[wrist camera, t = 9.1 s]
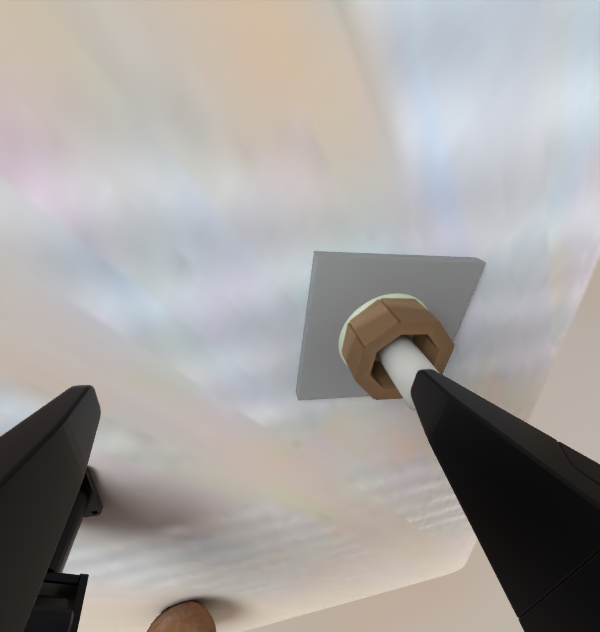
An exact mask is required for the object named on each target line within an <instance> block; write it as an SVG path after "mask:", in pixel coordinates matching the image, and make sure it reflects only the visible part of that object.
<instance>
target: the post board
mask: <svg viewBox="0 0 600 632" xmlns="http://www.w3.org/2000/svg"><path fill="white" fill-rule="evenodd" d="M485 264H486V263H485V262H483V261H481V260H480V259H478V258H467V257H443V256H418V255H393V254H368V253H343V252H318V251H314V257H313V265H312V273H311V280H310V288H309V296H308V303H307V311H306V319H305V326H304V334H303V342H302V349H301V357H300V365H299V372H298V380H297V388H296V394H297V398H298V400H312V399H328V398H343V397H359V396H370V395H369V394H368V393H367V392H366V391H365V390H364V389H363V388H362V387H361V386H360V385H359V384H358V383H357V382H356V381H355V379H354V377H353V375H352V373H351V371H350V369H349V367H348V365H347V363H346V361H345V359H344V357H343V355H342V352H341V351H342V346H343V342H344V337H345V333H346V328H347V324H348V323H350V322H349V321H350V320H351V319H352V318H354V317H355V316H356V315H358V314H359V313H360V312H362V311H363V310H364V309H366V308H367V307H368V306H370V305H371V304H372V303H374V302H375V301H376V300H377V299H379V300H380V299H381V298H414V299H416V300H417V301H418V302H419V303H420V304H421V305H422V306H423V307H424V308H426V309H427V310H428V311H429V312H430V313H431V314H432V315H433V316H434V317H435V318H436V319H437V320H439V321H440V323H441V324H442V326H443V327H444V329H445V331H446V332H447V334H448V335H449V337H450V338H451V340H452V341H453V340H454V337H455V335H456V333H457V330H458V328H459V326H460V323H461V321H462V318H463V316H464V314H465V311H466V309H467V307H468V304H469V302H470V300H471V297H472V295H473V292H474V290H475V288H476V285H477V283H478V281H479V278H480V276H481V274H482V271H483V269H484V267H485ZM413 336H414V335H400V336H399V337H397V338H396V339H395V340H393V341H392V342H390V343H389V344H388V345H386V346H385V347H383V348H382V349H381V350H379V351H378V352H377V353H376V356H375V360H374V361H380V362H381V364H382V365H383V367H384V369H385V370H386V372H387V373H388V375H389V376H390V378H391V380H392V381H393V383H394V384H395V386H396V387H397V389H398V391H399V392H400V394H401V395H402V397H403V398H404V400H405V401H406V403H407V405H408V406H409V407H410V408H411V409H413V410H416V408H415V406H414V403H413V400H412V398H411V393H410V391H411V387H412V384H413V381H414V379H415V376H416V373H417V372H418V371H419V370H421V369H433V370H435V371H436V372H438V371H437V369H436V368H435V367H434V366H433V365H432V364H431V362H430V361H429V360H428V359H427V358H426V357H425V355H424V354H423V353H422V352H421V351H420V350H419V348H418V347H417V346H416V345H415V344H414V342H413V341H412V339H413ZM438 373H439V372H438Z"/></svg>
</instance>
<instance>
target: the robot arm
mask: <svg viewBox="0 0 600 632" xmlns="http://www.w3.org/2000/svg"><path fill="white" fill-rule="evenodd" d="M410 393H411V398H412V400H413V403H414V406H415V408H416V411H417V413H418V416H419V418H420V421H421V424H422V426H423V429H424V431H425V434H426V436H427V439H428V441H429V443H430V445H431V447H432V450H433V451H434V453H435V455H436V457H437V459H438V461H439V463H440V465H441V467H442V469H443V471H444V473H445V475H446V477H447V479H448V481H449V483H450V485H451V487H452V489H453V491H454V493H455V495H456V497H457V499H458V501H459V503H460V505H461V507H462V509H463V511H464V513H465V515H466V517H467V519H468V521H469V523H470V525H471V527H472V529H473V531H474V532H475V534H476V536H477V538H478V540H479V542H480V544H481V546H482V548H483V550H484V552H485V554H486V556H487V558H488V560H489V562H490V564H491V566H492V568H493V570H494V572H495V574H496V575H497V578H498V580H499V582H500V584H501V586H502V588H503V590H504V592H505V594H506V596H507V598H508V600H509V601H510V604H511V605H512V608H513V609H514V611H515V613H516V615H517V617H518V618H519V621H520V624H521V626H522V628H523V630H524V632H600V464H598V463H597V462H595V461H593V460H591V459H589V458H587V457H586V456H584V455H582V454H580V453H578V452H577V451H575V450H573V449H571V448H570V447H568V446H566V445H564V444H563V443H561V442H557V440H555V439H554V438H552V437H550V436H549V435H547V434H545V433H543V432H542V431H540V430H538V429H536V428H534V427H533V426H531V425H529V424H528V423H526V422H524V421H522V420H521V419H519V418H517V417H515V416H514V415H512V414H510V413H508V412H507V411H505V410H503V409H501V408H500V407H498V406H496V405H494V404H493V403H491V402H489V401H487V400H486V399H484V398H482V397H480V396H479V395H477V394H475V393H473V392H472V391H470V390H468V389H466V388H465V387H463V386H461V385H459V384H458V383H456V382H454V381H452V380H451V379H449V378H447V377H445V376H443V375H442V374H440V373H438V372H436V371H435V370H433V369H421V370H419V371H418V372H417V373H416V376H415V379H414V381H413V384H412V387H411V391H410ZM100 415H101V410H100V405H99V402H98V399H97V396H96V392H95V389H94V387H93V386H91V385H78V386H72V387H71V388H69V389H67V390H66V391H65V392H63V393H62V394H60V395H59V396H58V397H56V398H55V399H53V400H52V401H50V402H49V403H48V404H46V405H45V406H43V407H42V408H40V409H39V410H38V411H36V412H35V413H33V414H32V415H31V416H29V417H28V418H26V419H25V420H23V421H22V422H21V423H19V424H18V425H16V426H15V427H13V428H12V429H11V430H9V431H8V432H6V433H5V434H3V435H2V436H1V437H0V632H77V629H78V624H79V620H80V615H81V610H82V605H83V600H84V595H85V591H86V586H87V581H88V576H89V575H88V574H80V575H75V574H65V573H62V572H63V569H64V566H65V564H66V561H67V559H68V556H69V553H70V551H71V548H72V546H73V543H74V540H75V538H76V535H77V532H78V530H79V527H80V525H81V522H82V519H83V517H89V516H96V515H99V514H101V512H102V509H103V507H102V504H101V502H100V499H99V496H98V494H97V491H96V488H95V486H94V483H93V481H92V478H91V475H90V473H89V470H88V469H87V464H88V461H89V457H90V453H91V450H92V446H93V442H94V438H95V435H96V431H97V427H98V424H99V420H100Z"/></svg>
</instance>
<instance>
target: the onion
mask: <svg viewBox="0 0 600 632" xmlns="http://www.w3.org/2000/svg"><path fill="white" fill-rule="evenodd" d="M169 608H170V609H169ZM151 624H152V625H151ZM151 624H150V625H151V626H150V627H149V629H148V630H147V631H148V632H216V628H215V624H214V621H213V618H212V616H211V615H210V613H209V612H208V610H207V609H206V608H205V607H204V606H202V605H201V604H199V603H197V602H193V601H188V602H185V603H181V604H179V605H176V606H173V607H168V608H167V609H166V610H164V611H163V612H161V614H160V615H159V616H158V617H156V619H155V620H154V622H153V623H151Z"/></svg>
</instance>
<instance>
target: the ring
mask: <svg viewBox="0 0 600 632" xmlns="http://www.w3.org/2000/svg"><path fill="white" fill-rule="evenodd" d="M349 322H350V323H348V324H347V328H346V333H345V337H344V342H343V346H342V351H341V352H342V355H343V357H344V359H345V361H346V363H347V365H348V367H349V369H350V371H351V373H352V375H353V377H354V379H355V381H356V382H357V383H358V384H359V385H360V386H361V387H362V388H363V389H364V390H365V391H366V392H367V393H368V394H369V395H370V396H371V397H372V398H373V399H376V400H381V399H398V398H403V397H402V395H401V394H400V392H399V391H398V389H397V387H396V386H395V384H394V383H393V381H392V380H391V378H390V376H389V375H388V373H387V372H386V370H385V369H384V367H383V365H382V364H381V362H380V361H374V360H375V356H376V353H377V352H378V351H379V350H381V349H382V348H383V347H385V346H386V345H388V344H389V343H390V342H392V341H393V340H395V339H396V338H397V337H399V336H400V335H414V336H413V339H412V341H413V342H414V344H415V345H416V346H417V347H418V348H419V350H420V351H421V352H422V353H423V354H424V355H425V357H426V358H427V359H428V360H429V361H430V362H431V364H432V365H433V366H434V367H435V368H436V369H437V371H438V372H439V373H440V374H443V371H444V369H445V367H446V365H447V362H448V360H449V358H450V356H451V353H452V351H453V349H454V346H453V345H454V343H453V341H452V340H451V338H450V337H449V335H448V334H447V332H446V331H445V329H444V327H443V326H442V324H441V323H440V321H439V320H437V319H436V318H435V317H434V316H433V315H432V314H431V313H430V312H429V311H428V310H427V309H426V308H424V307H423V306H422V305H421V304H420V303H419V302H418V301H417V300H416V299H414V298H381V299H380V300H379V299H377V300H376V301H375V302H374V303H372V304H371V305H370V306H368V307H367V308H366V309H364V310H363V311H362V312H360V313H359V314H358V315H356V316H355V317H354V318H352V319H351V320H350V321H349Z"/></svg>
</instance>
